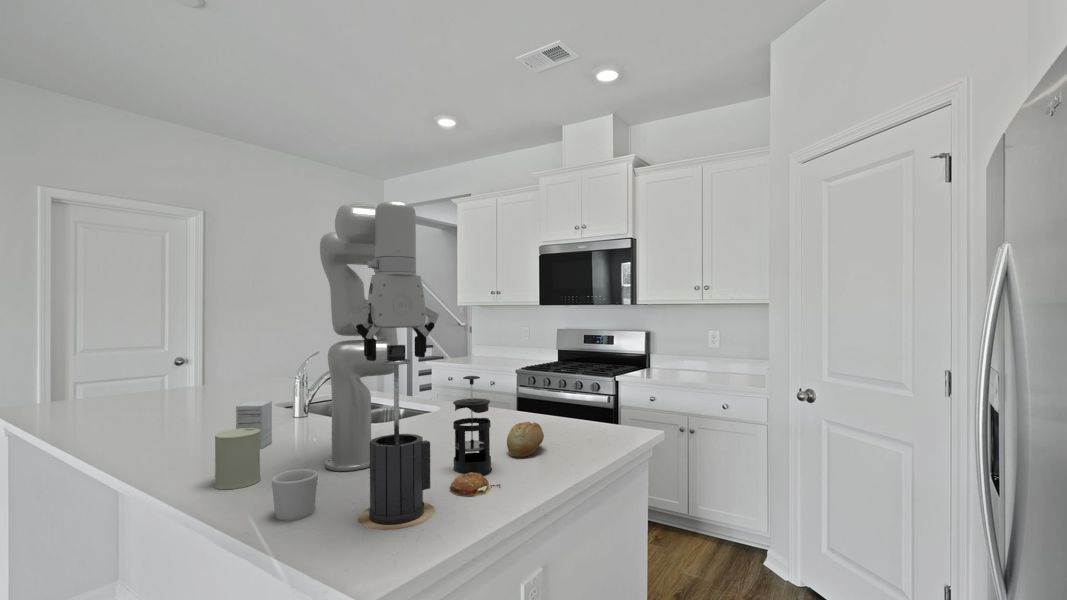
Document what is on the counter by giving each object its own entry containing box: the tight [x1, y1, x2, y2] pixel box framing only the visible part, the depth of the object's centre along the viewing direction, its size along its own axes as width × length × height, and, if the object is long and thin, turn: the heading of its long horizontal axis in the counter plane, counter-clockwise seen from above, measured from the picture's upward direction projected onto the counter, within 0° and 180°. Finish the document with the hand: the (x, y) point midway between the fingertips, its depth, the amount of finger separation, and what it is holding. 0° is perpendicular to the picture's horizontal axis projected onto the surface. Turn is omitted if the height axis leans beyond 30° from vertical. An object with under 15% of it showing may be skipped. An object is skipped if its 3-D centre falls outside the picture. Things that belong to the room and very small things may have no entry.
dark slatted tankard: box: [368, 433, 431, 525], centre depth 95 cm, size 10×12×14 cm
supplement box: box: [235, 400, 273, 449], centre depth 148 cm, size 7×7×13 cm
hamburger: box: [449, 473, 502, 497], centre depth 109 cm, size 14×14×6 cm
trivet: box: [357, 501, 436, 531], centre depth 95 cm, size 14×14×1 cm
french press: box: [452, 375, 493, 477], centre depth 123 cm, size 12×9×23 cm
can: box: [213, 428, 262, 491], centre depth 116 cm, size 9×9×12 cm
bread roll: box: [506, 421, 545, 459], centre depth 139 cm, size 10×15×8 cm, turn 168°
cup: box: [271, 468, 319, 521], centre depth 97 cm, size 11×8×8 cm
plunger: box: [382, 344, 411, 445], centre depth 95 cm, size 6×6×21 cm
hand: (396, 358), depth 95 cm, fingers open, 9 cm apart
